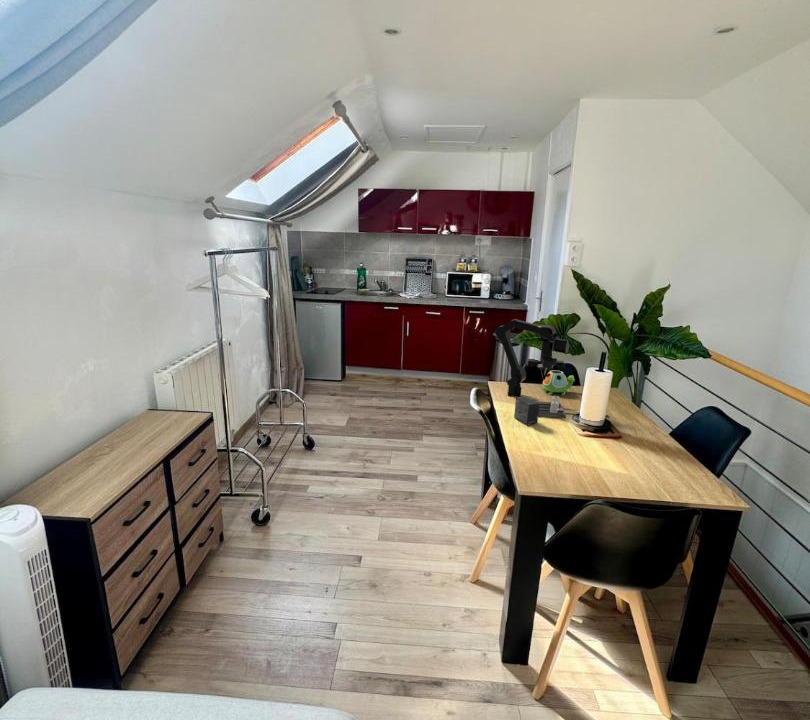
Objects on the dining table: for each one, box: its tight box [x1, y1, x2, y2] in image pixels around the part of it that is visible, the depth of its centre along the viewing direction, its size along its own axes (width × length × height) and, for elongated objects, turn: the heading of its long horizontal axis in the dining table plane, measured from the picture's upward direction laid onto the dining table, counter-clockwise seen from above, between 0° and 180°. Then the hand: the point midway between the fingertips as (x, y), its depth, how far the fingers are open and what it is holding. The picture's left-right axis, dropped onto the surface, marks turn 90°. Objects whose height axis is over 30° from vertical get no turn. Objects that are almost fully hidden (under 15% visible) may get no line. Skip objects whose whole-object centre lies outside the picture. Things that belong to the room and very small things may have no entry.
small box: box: [513, 396, 540, 426], centre depth 215 cm, size 11×6×10 cm, turn 22°
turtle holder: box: [542, 369, 576, 396], centre depth 258 cm, size 12×18×12 cm
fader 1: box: [551, 395, 561, 408], centre depth 231 cm, size 3×3×5 cm
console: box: [535, 400, 567, 419], centre depth 230 cm, size 15×18×2 cm
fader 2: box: [550, 400, 558, 414], centre depth 223 cm, size 3×3×5 cm
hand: (543, 379), depth 241 cm, fingers closed
